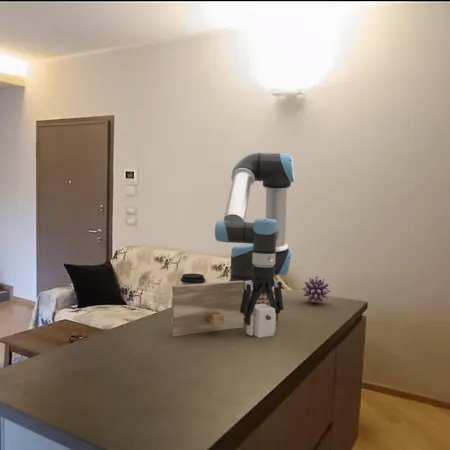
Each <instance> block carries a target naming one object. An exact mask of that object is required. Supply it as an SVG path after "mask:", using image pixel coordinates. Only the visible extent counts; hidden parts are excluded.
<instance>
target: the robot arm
mask: <svg viewBox="0 0 450 450" xmlns="http://www.w3.org/2000/svg"><path fill="white" fill-rule="evenodd" d="M230 178H231V182H232V183H231V188H230V191H229V195H228V199H227V200H228V201H227V203H226V209H225V213H224V218H223V220H217V221H216V223H215V225H214V226H215V227H214V237H215V240H216V241H217V242H221V243H227V244H228V243H233V244H238V245H235V246H233V247H232V248H231V253H230V272H229V273H230V277H229V281H228V282H231V281H244V282H245V281H251V283H248V284H247V283H244V293H243V298H242V303H241V308H240V313H243V314H245V319H244V325H246V334H247V335H248V336H254V335H253V315H251V314H252V312H253V309H254V307H255V305H256V302H257V300H258V297H260V295H261V294H263V293H265V294H266V295H267V298H268V301H269V304H270V306H271V307H272V308H275V326H274V333H276V329H277V327H276V325H277V322H278V318H279V317H278V316H279V314H280V313H281V311H283V310H284V303H283V302H284V301H283V296H282V284H283V283H282V281H279V280H275V276H286V275H287V274H288V273H289V269H290V265H291V257H292V252H293V251H292V249H290V248H289V244H287V242H286V231H287V230H286V229H287V228H286V227H287V226H286V224H287V223H286V222H287V200H288V199H287V191H288V190H289V188H291V185H292V184H291V183H294V182H295V166H294V160H293V156H292V155H291V154H289V153H285V152H284V153H282V152H253V153H248V154H247V155H245V156H243V157H242V158H241V159H240V160H238V162H237V163H236V164H235V166H234V168H233V170H232V172H231V176H230ZM255 182H262V187H263V188H264V189H265V218H256V219H254V222H253V221H252V222H251V221H245V220H246V215H247V210H248V205H249V198H250V193H251V188H252V185H253V184H254V183H255ZM273 286H274V293H275V298H274V295H273V294H274V293H273V290H272V287H273ZM252 287H253V291H252V295H251V298H250V294H251V289H252ZM249 299H250V300H249Z"/></svg>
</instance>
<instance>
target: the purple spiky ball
mask: <svg viewBox="0 0 450 450" xmlns="http://www.w3.org/2000/svg"><path fill="white" fill-rule="evenodd" d="M308 278H309V280H308V281H309V282H308V281H304V285H306V286H305V287H302V288H301V290H303V291H304V292H305V293H304V294H303V296H304V297H308V299H307V301H308V302H310V301H314V304H315V303H317V304H318V301H319V302H321V303H324V301H323V300H324V298H325V299H328V297H329V296H328V295H327V294H329V293H330V292H331V290H329V286H330V284H329V283H325V278H324V277H322V278H320V279H319V277H318V276H317V275H316V276H315V278H314V279H313V278H312V277H308Z"/></svg>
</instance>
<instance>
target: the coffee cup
mask: <svg viewBox="0 0 450 450" xmlns="http://www.w3.org/2000/svg"><path fill="white" fill-rule="evenodd" d="M180 282H181V285H190V284H204V283H206V278H205V277H204V275H203V274H200V273H184V274H182V276H181V278H180Z"/></svg>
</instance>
